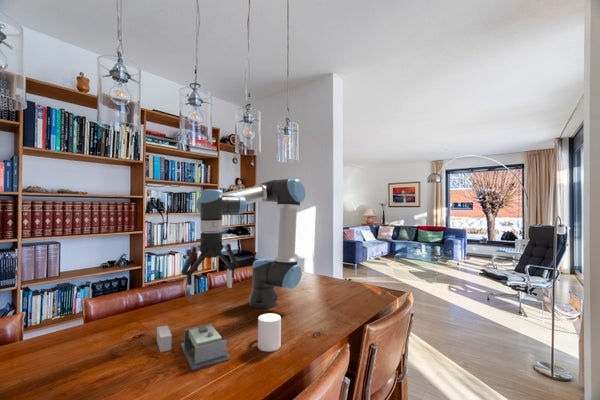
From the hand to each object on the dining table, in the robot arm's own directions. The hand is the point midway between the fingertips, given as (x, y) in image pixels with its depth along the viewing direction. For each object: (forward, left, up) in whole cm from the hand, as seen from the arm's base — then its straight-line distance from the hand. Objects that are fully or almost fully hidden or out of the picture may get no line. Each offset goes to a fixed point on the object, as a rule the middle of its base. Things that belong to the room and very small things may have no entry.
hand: (211, 290), depth 103 cm
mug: (+10, +18, -20) cm, 29 cm away
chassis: (+4, -3, -20) cm, 20 cm away
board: (+4, -3, -16) cm, 17 cm away
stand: (-9, -14, -20) cm, 26 cm away
